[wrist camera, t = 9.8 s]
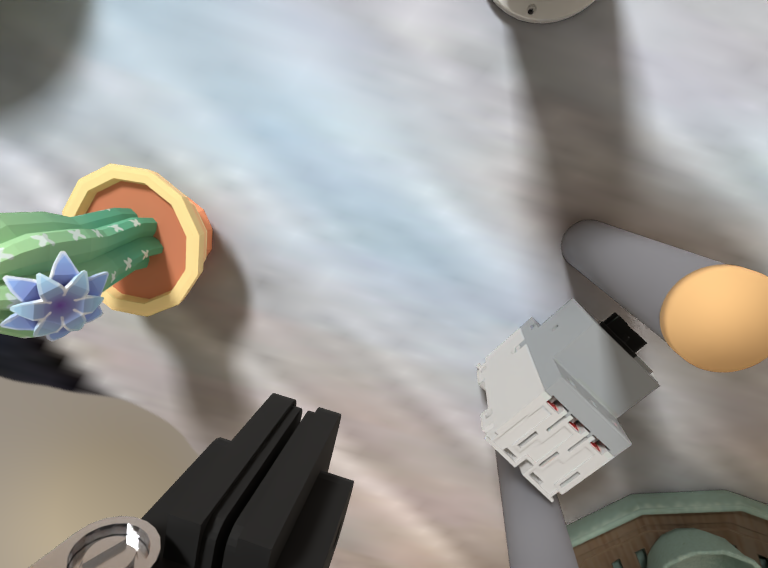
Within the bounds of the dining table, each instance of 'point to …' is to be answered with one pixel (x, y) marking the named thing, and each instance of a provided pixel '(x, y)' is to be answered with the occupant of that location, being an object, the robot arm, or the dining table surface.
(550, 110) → the dining table surface
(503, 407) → the circuit breaker
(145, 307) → the potted cactus
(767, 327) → the post
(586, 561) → the tea set
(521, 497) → the post
